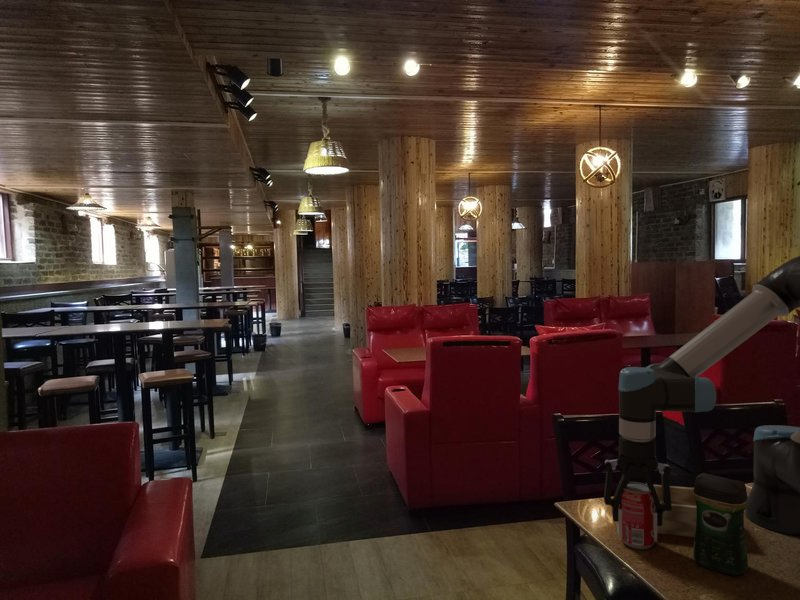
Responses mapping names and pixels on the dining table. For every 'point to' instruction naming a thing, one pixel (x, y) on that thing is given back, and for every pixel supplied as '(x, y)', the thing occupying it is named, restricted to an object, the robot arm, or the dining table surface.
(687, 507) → the crate
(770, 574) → the dining table surface
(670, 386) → the robot arm
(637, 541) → the soda can
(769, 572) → the dining table surface
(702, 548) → the coffee jar
